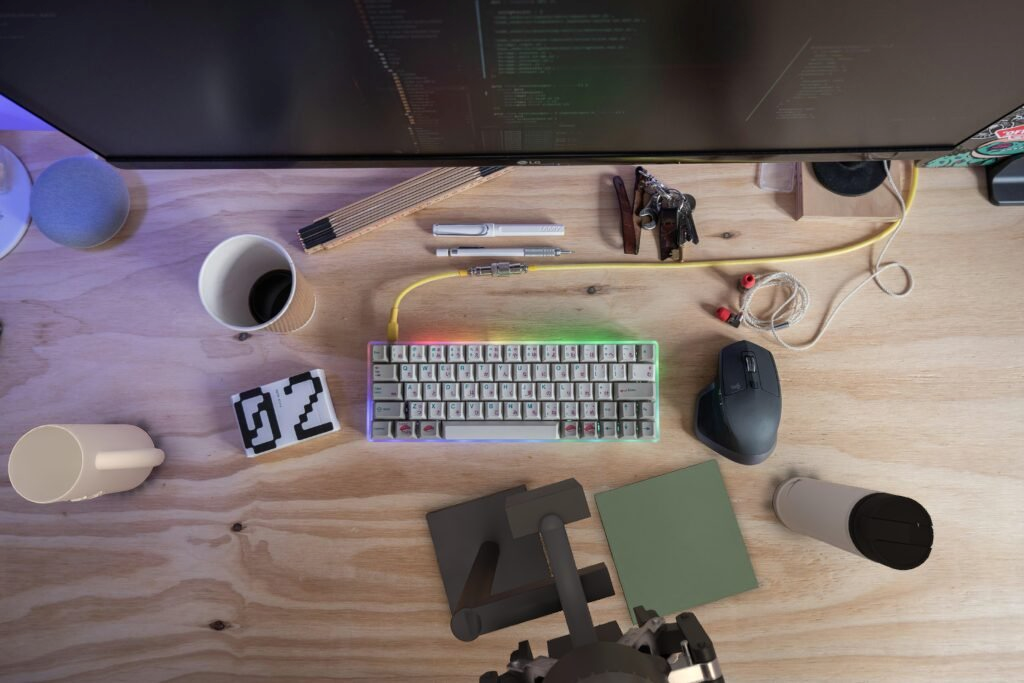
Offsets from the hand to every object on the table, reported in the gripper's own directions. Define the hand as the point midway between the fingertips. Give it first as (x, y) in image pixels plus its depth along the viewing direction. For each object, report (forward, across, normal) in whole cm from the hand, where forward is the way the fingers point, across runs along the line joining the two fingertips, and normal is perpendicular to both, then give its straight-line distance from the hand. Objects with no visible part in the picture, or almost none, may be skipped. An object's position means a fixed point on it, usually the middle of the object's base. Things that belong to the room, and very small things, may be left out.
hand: (584, 637), depth 43 cm
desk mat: (+27, +13, -2) cm, 30 cm away
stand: (+27, -5, +3) cm, 28 cm away
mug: (+28, -46, +25) cm, 59 cm away
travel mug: (+27, +28, -2) cm, 39 cm away
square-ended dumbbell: (+7, 0, +3) cm, 8 cm away
